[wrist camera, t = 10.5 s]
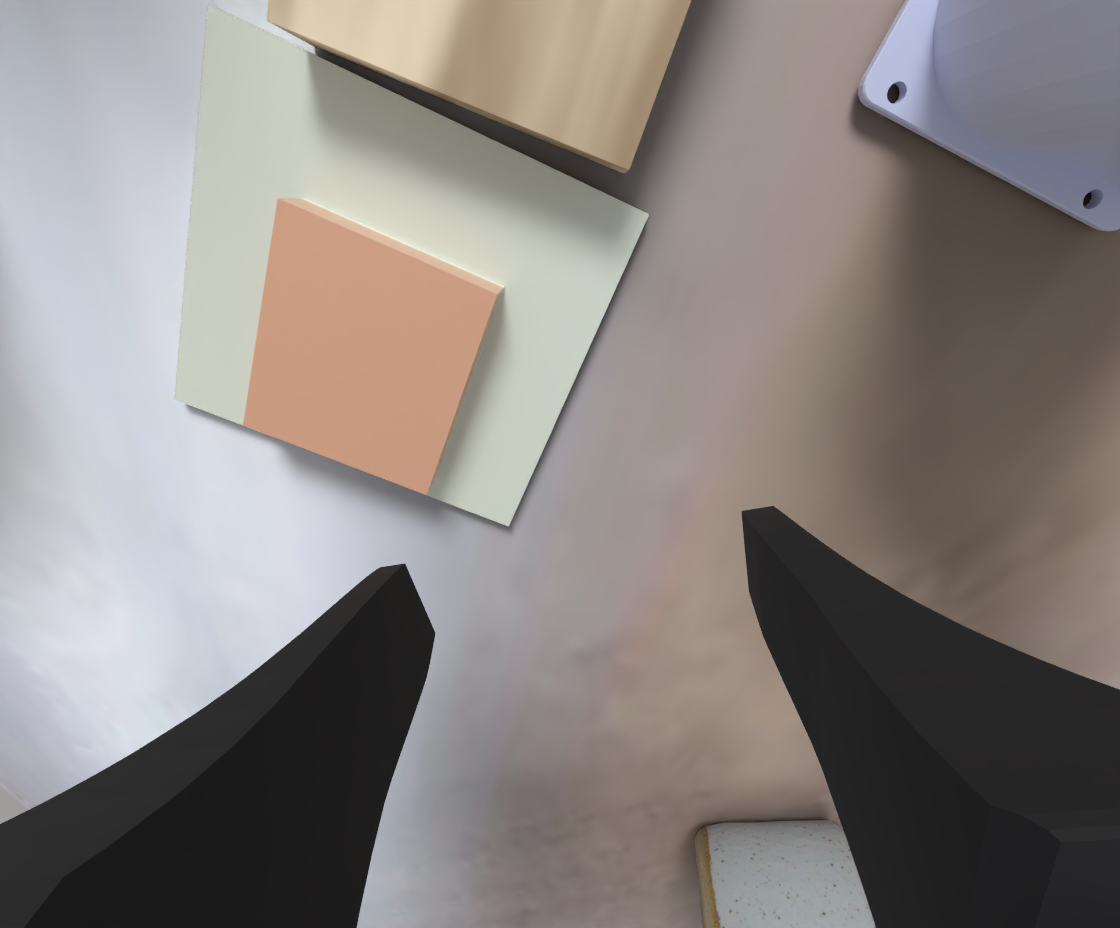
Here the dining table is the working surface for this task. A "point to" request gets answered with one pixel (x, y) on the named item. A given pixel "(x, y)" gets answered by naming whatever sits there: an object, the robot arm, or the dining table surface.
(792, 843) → the ceramic mug
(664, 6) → the light wooden block
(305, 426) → the tile
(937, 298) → the dining table surface
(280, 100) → the mat
